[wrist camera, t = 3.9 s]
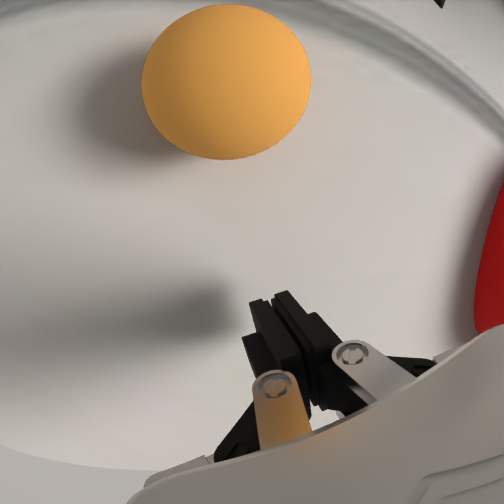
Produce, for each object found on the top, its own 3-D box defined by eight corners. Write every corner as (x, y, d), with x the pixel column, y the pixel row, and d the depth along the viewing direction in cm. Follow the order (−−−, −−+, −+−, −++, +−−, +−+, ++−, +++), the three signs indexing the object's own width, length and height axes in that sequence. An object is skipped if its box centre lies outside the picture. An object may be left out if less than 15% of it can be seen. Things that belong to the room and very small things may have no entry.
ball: (264, 35, 10) (313, -26, 5) (291, 145, 12) (362, 139, 7) (140, 58, 9) (116, -5, 4) (167, 176, 11) (153, 186, 6)
